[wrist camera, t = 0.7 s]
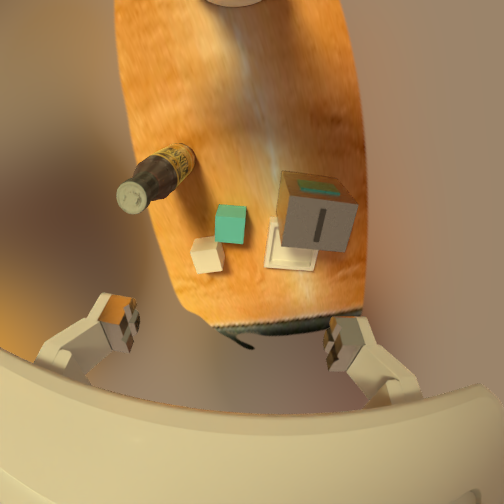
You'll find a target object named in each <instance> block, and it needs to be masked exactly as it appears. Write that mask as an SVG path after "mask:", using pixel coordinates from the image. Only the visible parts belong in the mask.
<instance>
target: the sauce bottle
mask: <svg viewBox="0 0 504 504" xmlns="http://www.w3.org/2000/svg"><path fill="white" fill-rule="evenodd" d="M194 165H195V155H194V152H193V151H192V149H191V148H190V147H188V146H187V145H184V144H182V143H175V144H171V145H169V146H167V147H165V148H163V149H161V150H159V151H157V152H156V153H154V154H152V155H151V156H149V157H148V158H146V159H145V160H143V161H142V162H140V163H139V164H138V165H137V167H136V169H135V171H134V174H133V178H130V179H128V180H126V181H125V182H123V183H122V184H121V185H120V186H119V188H118V190H117V196H116V197H117V202H118V204H119V206H120V207H121V208H122V209H123V210H124V211H125V212H127V213H129V214H138V213H141V212H142V211H143V210H144V209H146V208H147V207H148V206H149V204H150V202H151V201H155V200H158V199H164V198H166V197H167V196H168V195H169V194H170V193H171V192H172V191H174V190H175V189H176V187H177V186H178V185H179V184H180V183H181V182H182V181H183V180H184V179H185V178H186V177H187V176H188V175H189V174H190V173H191V171H192V170H193V167H194Z"/></svg>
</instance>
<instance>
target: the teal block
mask: <svg viewBox="0 0 504 504" xmlns="http://www.w3.org/2000/svg"><path fill="white" fill-rule="evenodd" d="M245 217H246V207H245V206H233V205H220V204H219V206H218V210H217V213H216V217H215V242H225V243H237V244H243V239H244V228H245Z"/></svg>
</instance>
